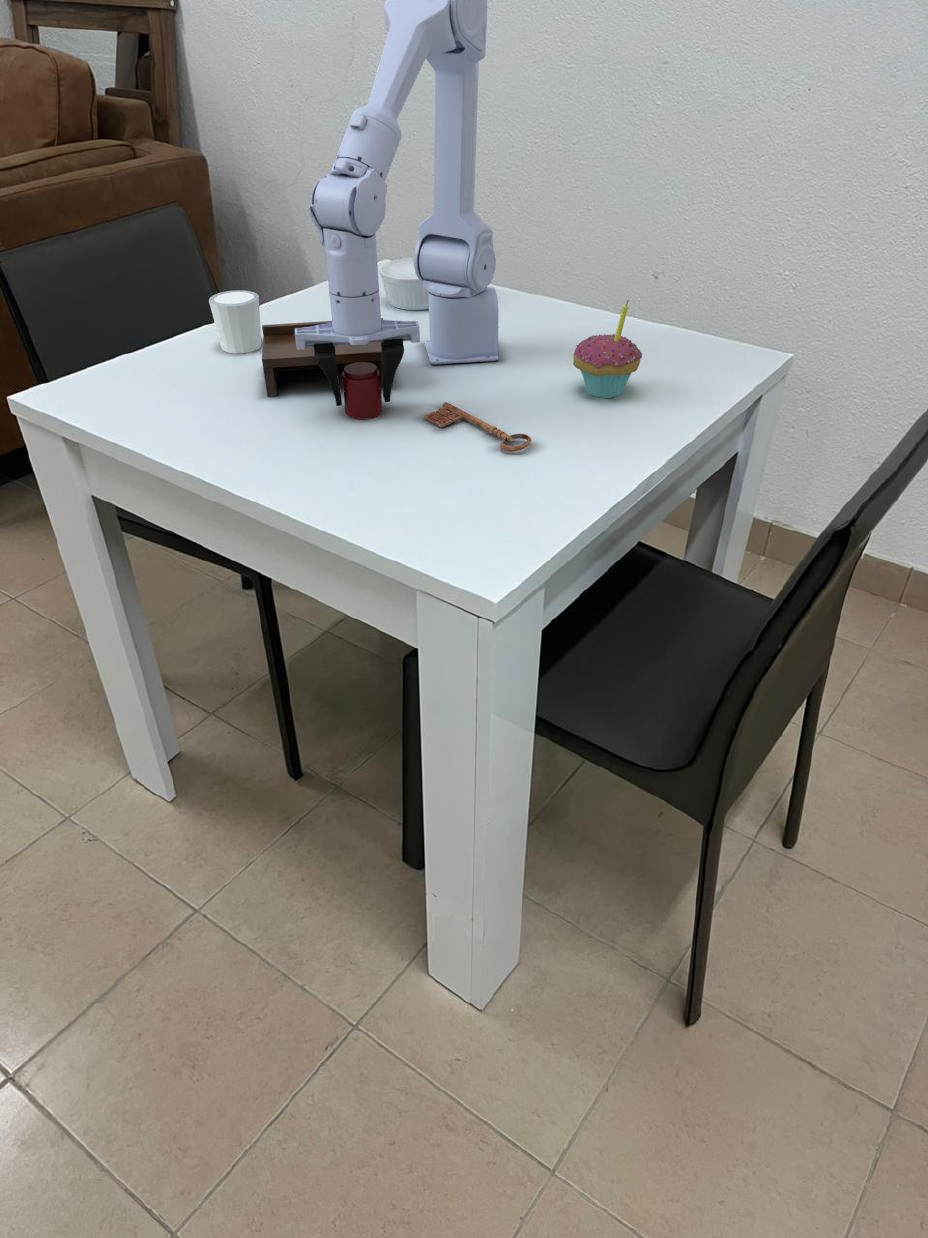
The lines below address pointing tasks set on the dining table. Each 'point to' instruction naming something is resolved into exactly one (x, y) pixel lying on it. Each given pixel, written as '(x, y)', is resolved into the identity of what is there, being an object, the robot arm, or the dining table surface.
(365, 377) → the red lidded jar
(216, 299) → the white cup
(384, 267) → the ramekin
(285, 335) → the shelf
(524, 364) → the dining table surface
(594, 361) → the cupcake
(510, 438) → the key
